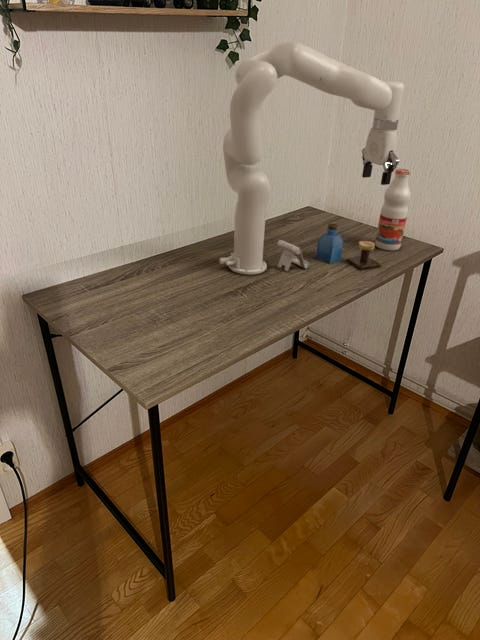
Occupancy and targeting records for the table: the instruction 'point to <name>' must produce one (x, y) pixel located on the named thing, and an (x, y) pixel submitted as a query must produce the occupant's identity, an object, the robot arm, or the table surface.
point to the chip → (366, 245)
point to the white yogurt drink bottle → (394, 212)
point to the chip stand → (363, 261)
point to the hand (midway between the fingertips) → (375, 180)
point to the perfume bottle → (330, 245)
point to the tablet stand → (291, 256)
